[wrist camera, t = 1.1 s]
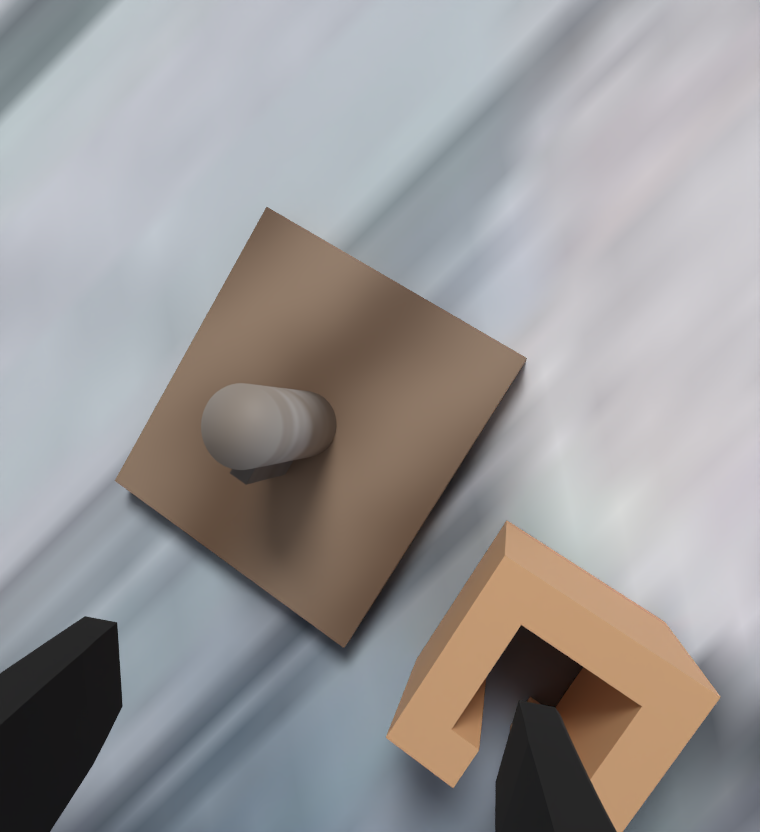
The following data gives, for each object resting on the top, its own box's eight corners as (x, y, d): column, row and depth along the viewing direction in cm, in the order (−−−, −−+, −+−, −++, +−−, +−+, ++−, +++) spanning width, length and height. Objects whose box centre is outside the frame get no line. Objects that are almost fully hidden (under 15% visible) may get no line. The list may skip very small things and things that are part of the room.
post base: (525, 361, 19) (531, 338, 14) (352, 637, 20) (290, 721, 15) (277, 216, 21) (191, 143, 15) (132, 477, 22) (3, 498, 17)
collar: (665, 622, 18) (720, 696, 13) (564, 765, 19) (583, 885, 14) (506, 520, 19) (504, 555, 15) (416, 659, 20) (385, 737, 15)
